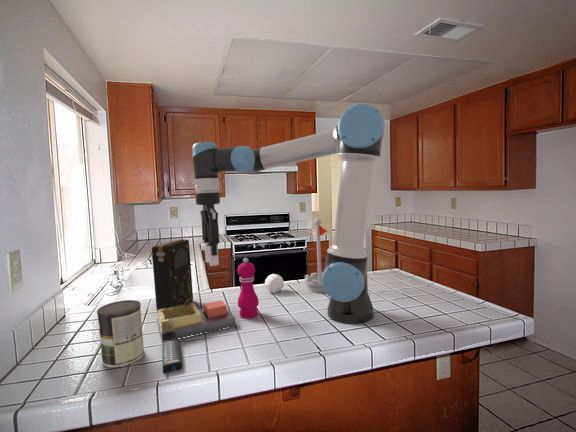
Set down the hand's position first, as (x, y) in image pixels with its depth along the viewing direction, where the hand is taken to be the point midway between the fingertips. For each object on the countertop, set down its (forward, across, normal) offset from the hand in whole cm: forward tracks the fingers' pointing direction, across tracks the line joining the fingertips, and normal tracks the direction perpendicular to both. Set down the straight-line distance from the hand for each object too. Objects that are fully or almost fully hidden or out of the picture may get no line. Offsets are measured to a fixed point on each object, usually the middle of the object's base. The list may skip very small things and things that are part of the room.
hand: (212, 263), depth 108 cm
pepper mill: (+20, 0, +12) cm, 23 cm away
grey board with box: (+20, 0, -6) cm, 21 cm away
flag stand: (+20, -11, +48) cm, 53 cm away
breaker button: (+17, 0, 0) cm, 17 cm away
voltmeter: (+20, -23, -10) cm, 32 cm away
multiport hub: (+20, +17, -16) cm, 31 cm away
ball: (+20, -18, +30) cm, 40 cm away
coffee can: (+20, +10, -28) cm, 35 cm away
